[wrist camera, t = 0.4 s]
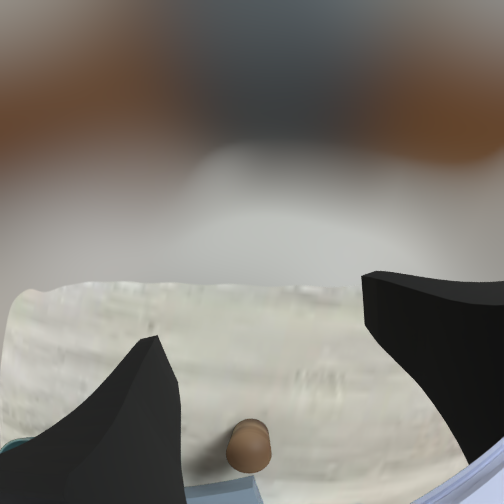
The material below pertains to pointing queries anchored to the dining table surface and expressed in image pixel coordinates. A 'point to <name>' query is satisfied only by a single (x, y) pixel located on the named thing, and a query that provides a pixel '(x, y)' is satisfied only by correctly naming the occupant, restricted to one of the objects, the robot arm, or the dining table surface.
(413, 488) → the dining table surface
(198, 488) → the socket
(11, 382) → the dining table surface
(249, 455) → the peg
